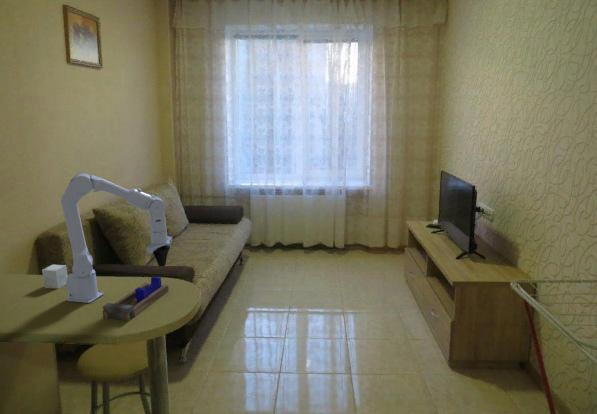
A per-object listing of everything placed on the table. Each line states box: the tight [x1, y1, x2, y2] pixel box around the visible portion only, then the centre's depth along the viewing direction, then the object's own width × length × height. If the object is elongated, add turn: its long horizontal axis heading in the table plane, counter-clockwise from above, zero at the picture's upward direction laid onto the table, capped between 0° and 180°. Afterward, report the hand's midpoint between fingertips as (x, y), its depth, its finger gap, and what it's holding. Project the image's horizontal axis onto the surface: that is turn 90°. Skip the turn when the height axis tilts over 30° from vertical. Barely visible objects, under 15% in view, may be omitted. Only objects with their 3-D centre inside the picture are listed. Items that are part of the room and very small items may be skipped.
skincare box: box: [41, 264, 69, 290], centre depth 176 cm, size 6×6×7 cm
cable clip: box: [134, 275, 163, 305], centre depth 162 cm, size 12×4×6 cm, turn 168°
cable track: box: [101, 282, 169, 322], centre depth 158 cm, size 9×24×4 cm, turn 165°
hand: (162, 265), depth 172 cm, fingers closed
